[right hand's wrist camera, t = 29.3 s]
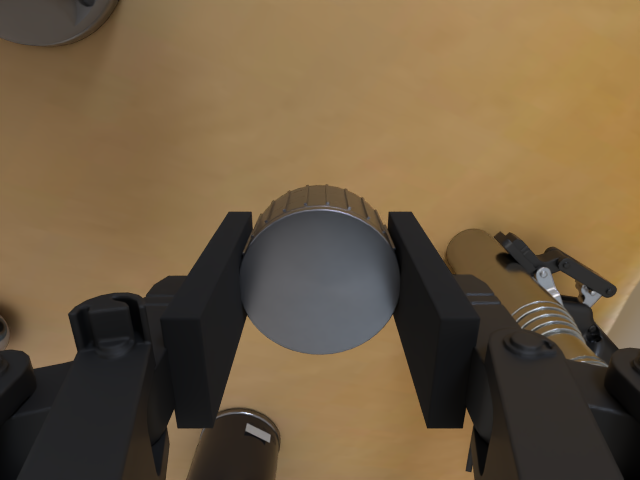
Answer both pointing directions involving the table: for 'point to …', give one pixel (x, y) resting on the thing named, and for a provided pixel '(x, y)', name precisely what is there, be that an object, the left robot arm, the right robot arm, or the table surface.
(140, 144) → the table surface
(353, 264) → the cap
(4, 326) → the eyeball
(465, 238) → the bottle
